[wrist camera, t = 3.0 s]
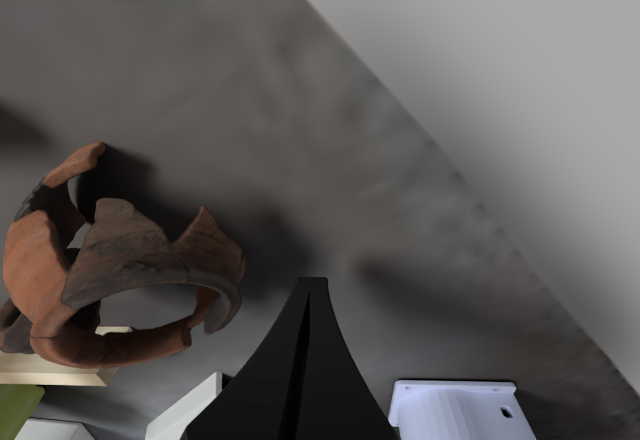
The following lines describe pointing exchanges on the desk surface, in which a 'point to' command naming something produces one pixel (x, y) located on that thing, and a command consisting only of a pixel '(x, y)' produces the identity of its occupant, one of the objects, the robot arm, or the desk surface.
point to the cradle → (53, 369)
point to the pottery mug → (106, 275)
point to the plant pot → (17, 407)
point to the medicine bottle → (52, 430)
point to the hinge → (184, 410)
